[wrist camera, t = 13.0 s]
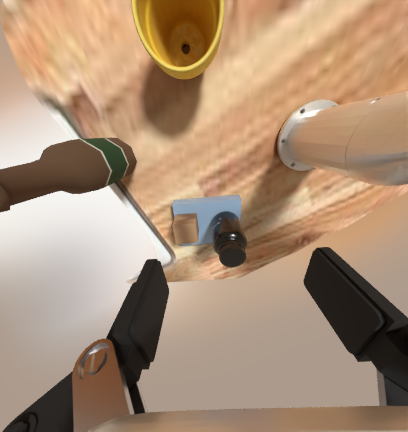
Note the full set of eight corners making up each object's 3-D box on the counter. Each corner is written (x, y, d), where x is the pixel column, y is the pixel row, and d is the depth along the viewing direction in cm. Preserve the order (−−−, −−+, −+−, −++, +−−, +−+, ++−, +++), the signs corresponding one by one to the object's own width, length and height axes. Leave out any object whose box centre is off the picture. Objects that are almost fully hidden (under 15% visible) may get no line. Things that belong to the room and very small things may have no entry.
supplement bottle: (210, 211, 36) (212, 244, 25) (239, 209, 36) (253, 240, 25) (212, 235, 39) (215, 272, 29) (238, 233, 39) (251, 270, 28)
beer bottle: (138, 178, 35) (38, 243, 14) (103, 171, 34) (-57, 231, 13) (137, 141, 32) (0, 155, 10) (98, 133, 31) (-132, 131, 10)
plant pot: (145, 64, 26) (116, 29, 17) (173, -18, 22) (152, -117, 13) (197, 104, 29) (194, 91, 20) (230, 38, 24) (244, -14, 16)
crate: (196, 212, 36) (195, 223, 32) (198, 230, 38) (198, 242, 34) (175, 214, 36) (172, 225, 32) (179, 231, 39) (176, 244, 34)
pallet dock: (238, 194, 37) (241, 199, 34) (238, 234, 43) (240, 241, 40) (174, 200, 38) (171, 205, 35) (181, 239, 43) (180, 245, 41)
